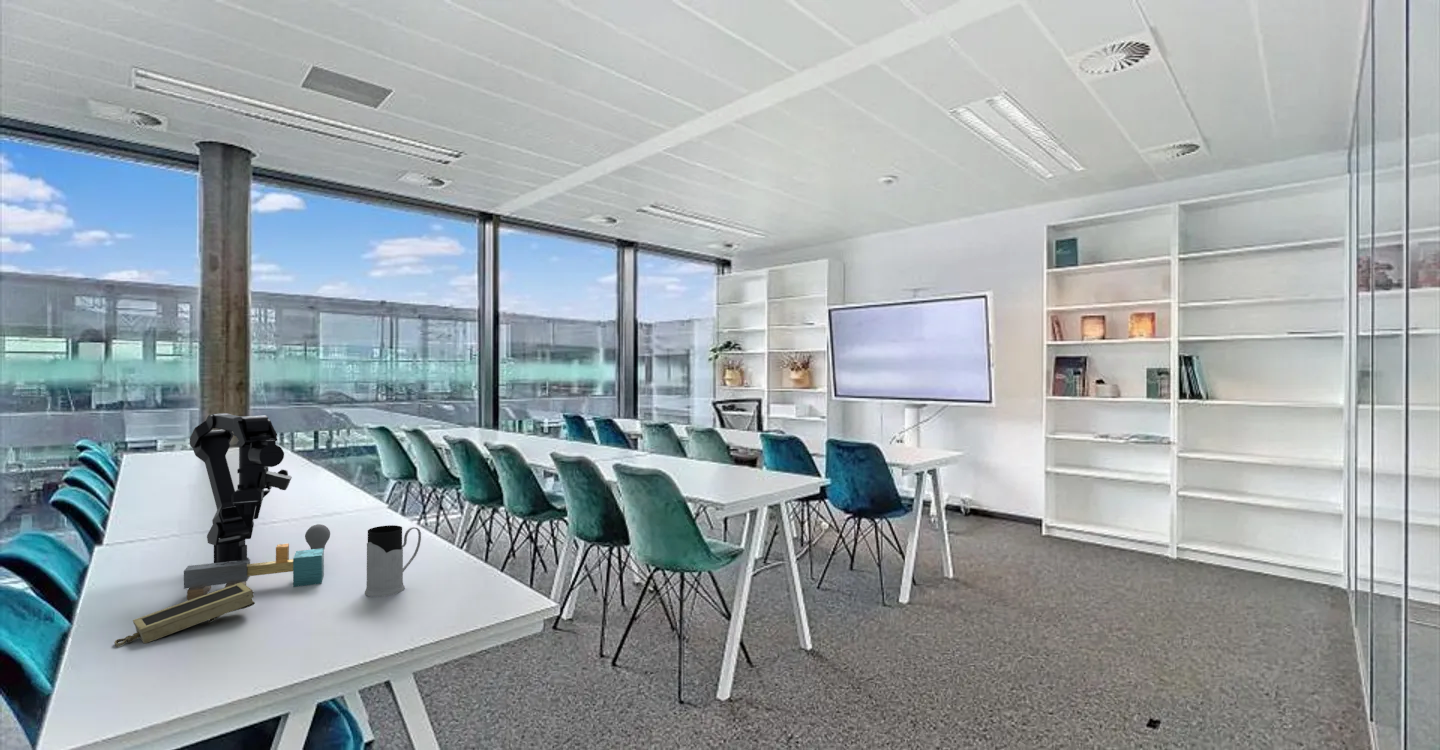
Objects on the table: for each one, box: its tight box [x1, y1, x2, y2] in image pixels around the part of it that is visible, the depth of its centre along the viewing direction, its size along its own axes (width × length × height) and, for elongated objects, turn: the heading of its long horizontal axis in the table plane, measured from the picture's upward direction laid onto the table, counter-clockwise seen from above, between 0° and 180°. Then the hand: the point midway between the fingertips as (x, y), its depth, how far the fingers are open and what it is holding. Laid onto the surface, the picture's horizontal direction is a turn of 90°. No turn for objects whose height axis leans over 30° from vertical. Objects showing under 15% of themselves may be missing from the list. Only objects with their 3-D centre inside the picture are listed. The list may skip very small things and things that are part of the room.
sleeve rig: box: [183, 548, 325, 601], centre depth 159 cm, size 28×8×7 cm, turn 118°
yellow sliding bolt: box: [247, 543, 293, 577], centre depth 160 cm, size 19×3×6 cm, turn 118°
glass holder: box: [364, 524, 422, 598], centre depth 161 cm, size 9×14×15 cm, turn 152°
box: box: [113, 582, 256, 648], centre depth 135 cm, size 8×22×5 cm, turn 141°
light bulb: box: [304, 523, 331, 550], centre depth 181 cm, size 6×6×10 cm
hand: (252, 522), depth 171 cm, fingers open, 9 cm apart
